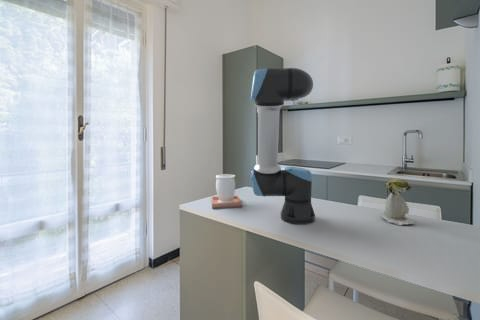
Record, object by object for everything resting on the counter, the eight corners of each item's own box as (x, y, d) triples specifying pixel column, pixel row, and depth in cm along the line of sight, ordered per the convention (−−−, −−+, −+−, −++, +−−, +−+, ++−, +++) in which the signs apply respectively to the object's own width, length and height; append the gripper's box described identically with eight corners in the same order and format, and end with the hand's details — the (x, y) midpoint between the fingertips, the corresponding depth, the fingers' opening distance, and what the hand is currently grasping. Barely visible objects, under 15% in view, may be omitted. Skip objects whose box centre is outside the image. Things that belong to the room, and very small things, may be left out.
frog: (384, 224, 105) (386, 181, 103) (377, 214, 117) (379, 176, 115) (417, 227, 101) (420, 183, 99) (406, 216, 113) (409, 177, 111)
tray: (241, 206, 131) (241, 202, 131) (212, 208, 129) (212, 203, 128) (238, 199, 145) (238, 195, 145) (211, 200, 143) (211, 196, 143)
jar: (213, 204, 134) (212, 176, 132) (220, 199, 143) (219, 173, 142) (231, 205, 130) (231, 177, 129) (237, 200, 140) (237, 174, 139)
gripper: (275, 111, 134) (275, 150, 136) (264, 114, 158) (264, 148, 161) (262, 111, 133) (262, 151, 135) (253, 114, 157) (253, 148, 160)
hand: (263, 149), depth 148 cm, fingers open, 13 cm apart
